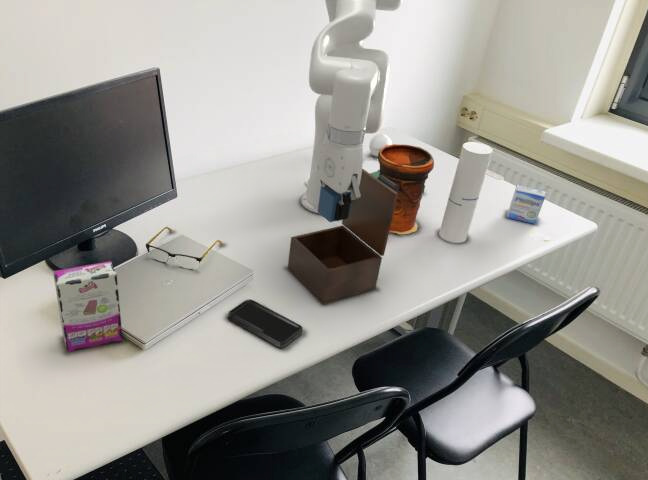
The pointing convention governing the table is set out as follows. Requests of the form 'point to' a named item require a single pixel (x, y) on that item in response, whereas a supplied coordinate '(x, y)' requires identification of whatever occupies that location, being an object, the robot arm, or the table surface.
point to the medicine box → (526, 204)
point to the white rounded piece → (379, 143)
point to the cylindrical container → (465, 191)
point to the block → (329, 203)
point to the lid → (373, 211)
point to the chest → (333, 264)
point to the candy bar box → (88, 305)
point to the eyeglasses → (177, 254)
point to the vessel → (405, 181)
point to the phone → (265, 323)
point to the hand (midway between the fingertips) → (333, 212)
